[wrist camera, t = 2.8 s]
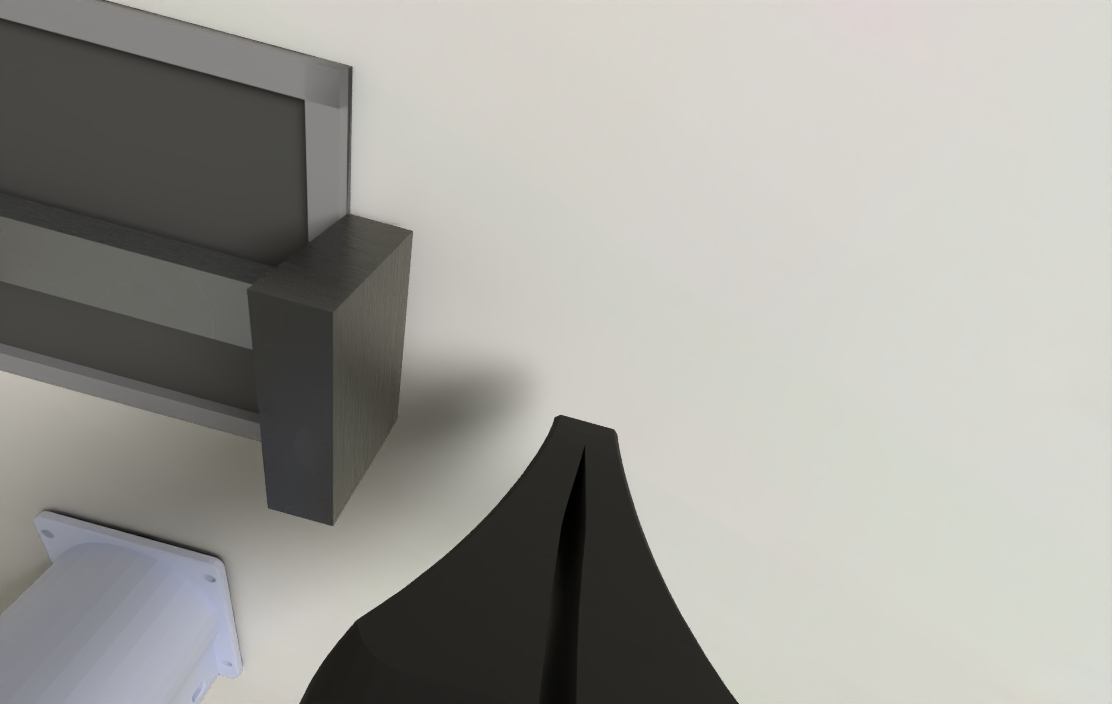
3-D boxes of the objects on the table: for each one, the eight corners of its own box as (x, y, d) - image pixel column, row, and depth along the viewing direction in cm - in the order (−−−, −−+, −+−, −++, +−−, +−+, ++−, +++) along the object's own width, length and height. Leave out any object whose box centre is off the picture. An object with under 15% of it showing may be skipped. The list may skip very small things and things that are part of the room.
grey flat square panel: (345, 450, 20) (337, 462, 19) (-25, 349, 20) (-43, 358, 19) (352, 67, 13) (339, 70, 12) (-210, -85, 13) (-244, -88, 12)
